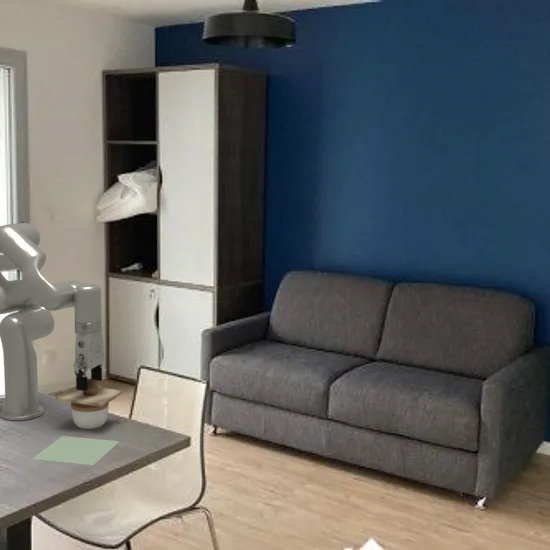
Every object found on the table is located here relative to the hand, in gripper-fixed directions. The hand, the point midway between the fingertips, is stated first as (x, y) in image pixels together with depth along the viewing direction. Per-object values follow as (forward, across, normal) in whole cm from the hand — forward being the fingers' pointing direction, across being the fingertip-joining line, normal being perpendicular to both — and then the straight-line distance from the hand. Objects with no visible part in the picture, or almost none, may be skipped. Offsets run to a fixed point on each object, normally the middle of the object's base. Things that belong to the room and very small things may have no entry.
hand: (89, 385), depth 218 cm
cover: (+3, 0, 0) cm, 3 cm away
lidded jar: (+13, 0, 0) cm, 13 cm away
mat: (+13, -19, -5) cm, 23 cm away
